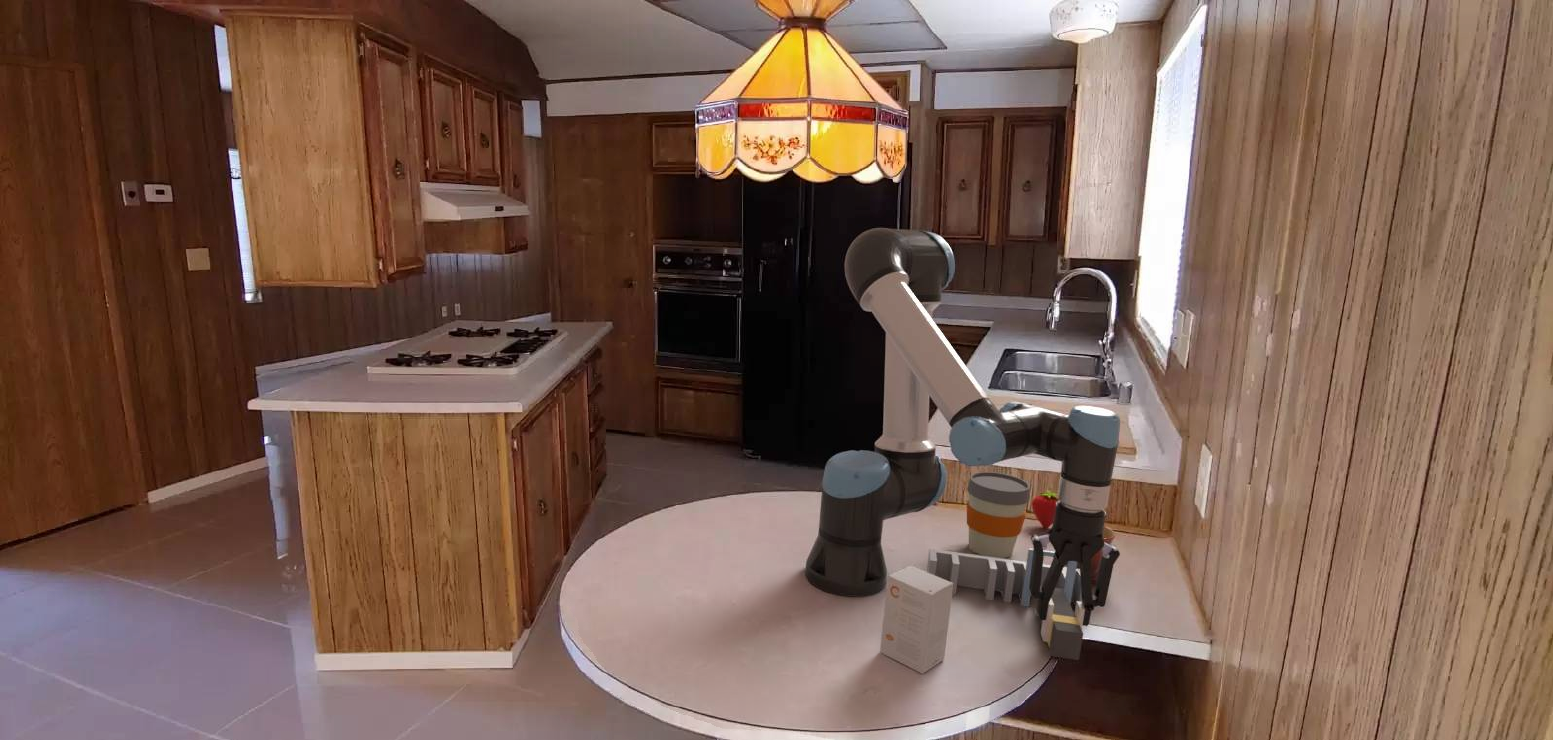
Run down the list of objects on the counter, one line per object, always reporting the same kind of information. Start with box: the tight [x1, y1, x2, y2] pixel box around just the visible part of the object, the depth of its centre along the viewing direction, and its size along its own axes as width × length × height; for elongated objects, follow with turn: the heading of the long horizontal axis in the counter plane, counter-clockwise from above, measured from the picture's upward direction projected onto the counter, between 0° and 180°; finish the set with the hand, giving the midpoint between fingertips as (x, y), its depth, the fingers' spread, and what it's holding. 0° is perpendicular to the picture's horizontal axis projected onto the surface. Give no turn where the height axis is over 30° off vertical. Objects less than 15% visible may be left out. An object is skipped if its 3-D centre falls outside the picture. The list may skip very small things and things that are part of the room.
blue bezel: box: [1019, 547, 1077, 607], centre depth 142 cm, size 8×1×11 cm, turn 81°
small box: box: [879, 565, 953, 675], centre depth 123 cm, size 8×6×13 cm
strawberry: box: [1031, 485, 1059, 529], centre depth 181 cm, size 6×8×10 cm
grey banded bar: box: [1035, 586, 1084, 661], centre depth 133 cm, size 4×16×5 cm, turn 171°
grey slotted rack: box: [926, 548, 1082, 608], centre depth 147 cm, size 28×5×6 cm, turn 81°
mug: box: [1065, 525, 1117, 586], centre depth 155 cm, size 12×9×10 cm
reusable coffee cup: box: [966, 471, 1031, 559], centre depth 166 cm, size 13×13×15 cm
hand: (1059, 639), depth 130 cm, fingers closed on grey banded bar, 4 cm apart
